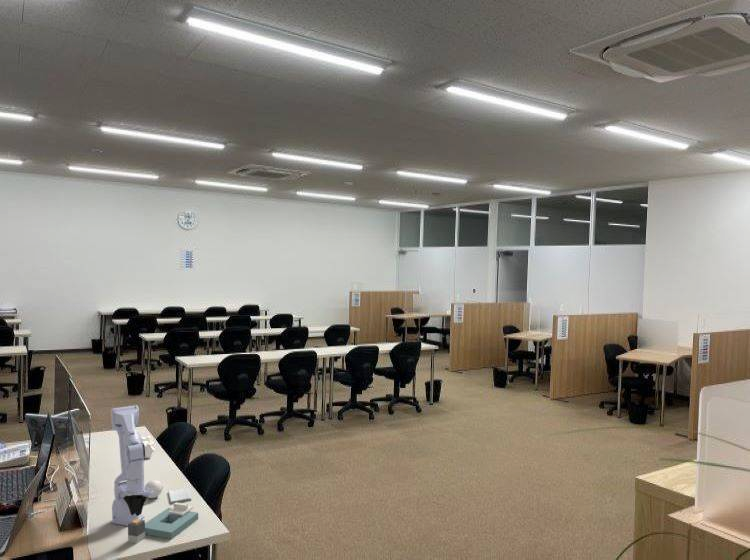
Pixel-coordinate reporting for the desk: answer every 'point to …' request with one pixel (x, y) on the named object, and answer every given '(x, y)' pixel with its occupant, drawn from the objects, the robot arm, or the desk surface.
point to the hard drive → (179, 495)
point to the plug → (136, 531)
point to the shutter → (180, 509)
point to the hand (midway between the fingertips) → (136, 514)
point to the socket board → (164, 529)
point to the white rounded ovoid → (154, 487)
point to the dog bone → (147, 446)
